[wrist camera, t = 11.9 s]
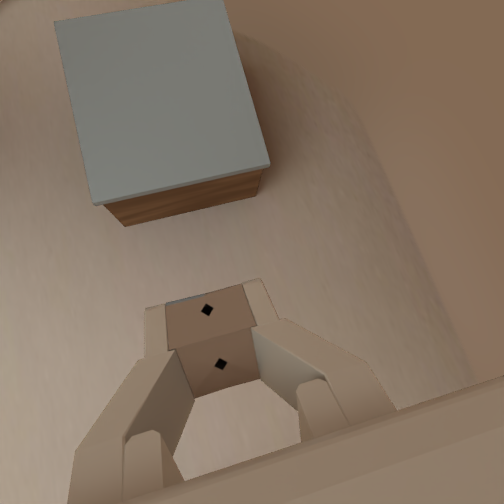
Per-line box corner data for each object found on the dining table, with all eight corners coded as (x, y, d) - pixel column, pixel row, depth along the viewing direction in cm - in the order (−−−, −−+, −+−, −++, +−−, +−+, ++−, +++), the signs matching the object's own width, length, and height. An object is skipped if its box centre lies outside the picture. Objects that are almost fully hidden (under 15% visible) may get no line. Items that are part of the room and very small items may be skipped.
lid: (269, 167, 32) (270, 163, 31) (95, 206, 30) (92, 203, 29) (221, 2, 34) (221, -6, 34) (57, 28, 32) (53, 21, 32)
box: (255, 196, 40) (264, 164, 32) (124, 226, 38) (100, 201, 30) (218, 67, 42) (218, 9, 35) (94, 90, 41) (64, 34, 33)
